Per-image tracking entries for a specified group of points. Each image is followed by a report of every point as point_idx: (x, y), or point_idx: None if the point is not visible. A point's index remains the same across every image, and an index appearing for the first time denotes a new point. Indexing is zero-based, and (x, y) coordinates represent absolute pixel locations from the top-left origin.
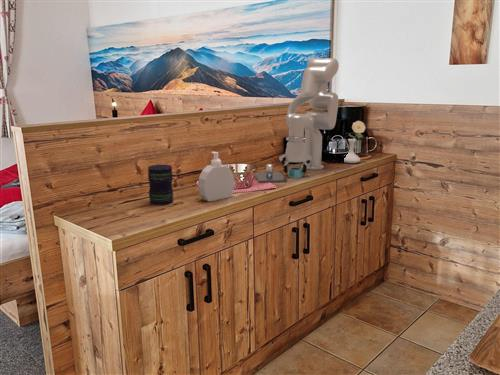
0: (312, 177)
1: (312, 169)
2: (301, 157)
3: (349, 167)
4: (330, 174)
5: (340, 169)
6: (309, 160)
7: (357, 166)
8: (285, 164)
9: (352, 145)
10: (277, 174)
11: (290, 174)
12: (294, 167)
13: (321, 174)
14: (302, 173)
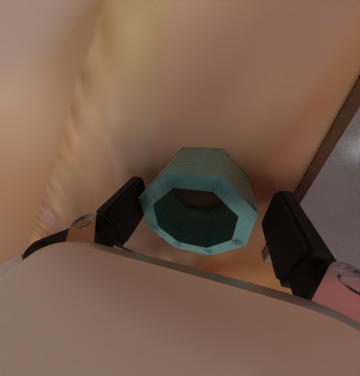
0: (108, 144)
1: (119, 248)
2: (3, 365)
3: (42, 236)
4: (51, 185)
5: (52, 228)
6: (26, 254)
7: (31, 237)
8: (350, 284)
9: None
10: (326, 222)
11: (244, 180)
12: (188, 249)
13: (82, 192)
14: (154, 179)
